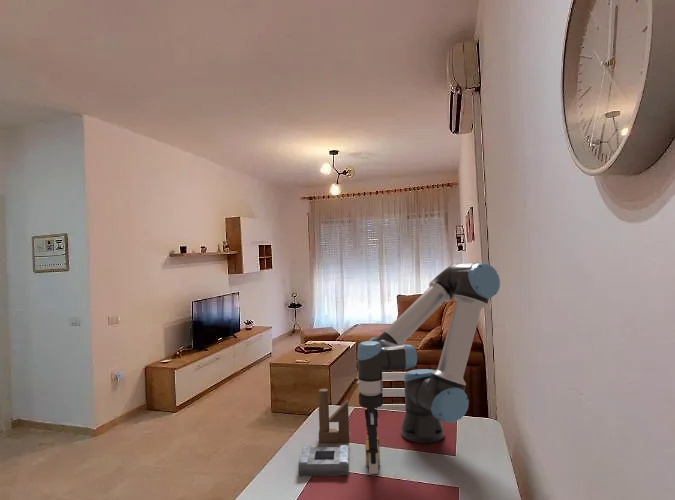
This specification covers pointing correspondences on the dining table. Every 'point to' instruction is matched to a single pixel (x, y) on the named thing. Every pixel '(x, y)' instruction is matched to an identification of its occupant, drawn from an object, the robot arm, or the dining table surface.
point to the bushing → (368, 454)
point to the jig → (324, 461)
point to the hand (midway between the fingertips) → (372, 464)
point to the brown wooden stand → (332, 420)
